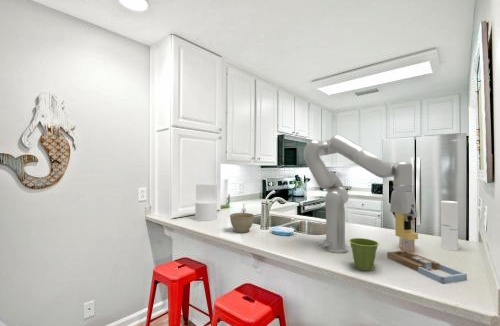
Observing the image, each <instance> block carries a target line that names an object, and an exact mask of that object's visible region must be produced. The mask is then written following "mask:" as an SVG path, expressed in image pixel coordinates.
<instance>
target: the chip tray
mask: <svg viewBox="0 0 500 326" xmlns="http://www.w3.org/2000/svg"><path fill="white" fill-rule="evenodd" d="M439 271H442V272H444V273H447V274H449V275H443V276H442V275H440V274H438V273H435V272H433V271H432V270H431V271H428V270H426V269H424V268H421V267H418V272H417V273H418V274H421V275H423V276H425V277H426V278H430V279H431V280H434V281H435V282H438V283H439V284H442V285H443V284H449V283H450V284H451V283H457V282H463V281H464V282H465V281H467V280H468V273H465V272H462V271H460V270H457V269H455V268H452V267H450V266H447V265H444V264H442V263H439Z"/></svg>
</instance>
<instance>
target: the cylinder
mask: <svg viewBox="0 0 500 326" xmlns="http://www.w3.org/2000/svg"><path fill="white" fill-rule="evenodd" d="M194 215H195V220H196V221H197V222H213V221H216V220H217V219H218V184H217V183H198V184H197V183H196V184H195V214H194Z"/></svg>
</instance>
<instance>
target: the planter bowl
mask: <svg viewBox="0 0 500 326" xmlns="http://www.w3.org/2000/svg"><path fill="white" fill-rule="evenodd" d="M229 217H230V224H231V226H232V228H233V229H234V232H236V233H241V234H242V233H248V232H249V231H250V229H251V228H252V225H253V223H254V220H255V218H254V217H255V215H254V214H253V213H250V212H249V213H248V212H235V213H231V214H230V215H229Z"/></svg>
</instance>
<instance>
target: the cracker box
mask: <svg viewBox="0 0 500 326" xmlns="http://www.w3.org/2000/svg"><path fill="white" fill-rule="evenodd" d="M415 222H416V217H415V218H414V219H413V220H412V221H411V232H414V233H416V231H415V230H416V229H415V228H416V227H415V225H416V223H415ZM415 240H416V239H413V240H407V239H404V238H401V237H399V238H398V241H399V242H398V243H399V244H398V245H399V248H400V251H403V250H406V251H409V252H412V253H414V254H415V252H416V251H415V244H416V243H415Z"/></svg>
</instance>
